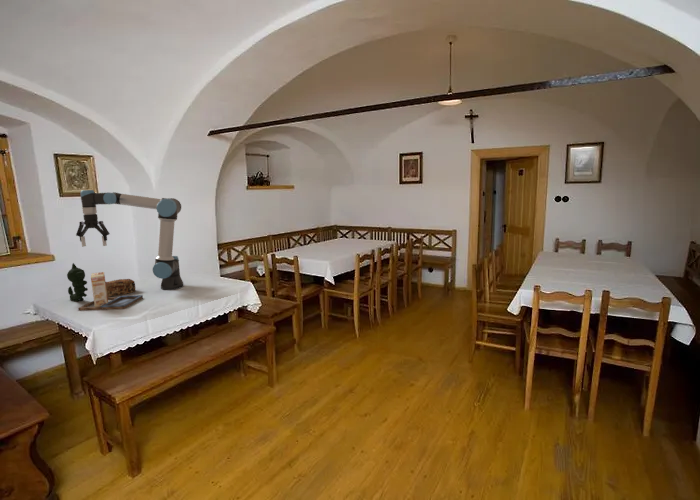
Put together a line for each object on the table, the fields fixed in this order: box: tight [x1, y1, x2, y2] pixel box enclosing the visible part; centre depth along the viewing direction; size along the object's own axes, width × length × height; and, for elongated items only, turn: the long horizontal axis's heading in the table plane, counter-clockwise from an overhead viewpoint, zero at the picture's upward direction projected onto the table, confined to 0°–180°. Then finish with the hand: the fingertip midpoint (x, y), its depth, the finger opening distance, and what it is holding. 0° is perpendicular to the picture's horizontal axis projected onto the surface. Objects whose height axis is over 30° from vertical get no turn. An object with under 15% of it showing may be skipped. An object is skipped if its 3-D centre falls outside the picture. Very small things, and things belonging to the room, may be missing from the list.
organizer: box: [77, 294, 144, 311], centre depth 238 cm, size 27×22×2 cm
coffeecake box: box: [90, 271, 109, 307], centre depth 237 cm, size 15×7×20 cm, turn 32°
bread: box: [105, 278, 136, 297], centre depth 262 cm, size 19×11×10 cm, turn 139°
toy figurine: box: [66, 262, 89, 303], centre depth 247 cm, size 9×19×25 cm, turn 59°
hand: (94, 246), depth 252 cm, fingers open, 13 cm apart
